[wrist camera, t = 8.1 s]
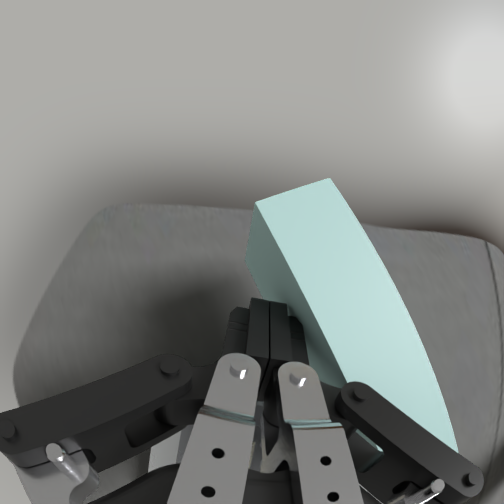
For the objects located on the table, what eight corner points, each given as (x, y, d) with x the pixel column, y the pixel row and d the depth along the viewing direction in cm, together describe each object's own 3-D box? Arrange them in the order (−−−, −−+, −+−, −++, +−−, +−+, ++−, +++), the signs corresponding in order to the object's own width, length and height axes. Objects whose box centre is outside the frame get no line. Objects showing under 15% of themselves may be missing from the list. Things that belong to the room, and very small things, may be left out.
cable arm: (403, 463, 11) (465, 487, 6) (360, 494, 11) (413, 533, 5) (296, 239, 17) (329, 177, 11) (244, 260, 16) (254, 202, 10)
